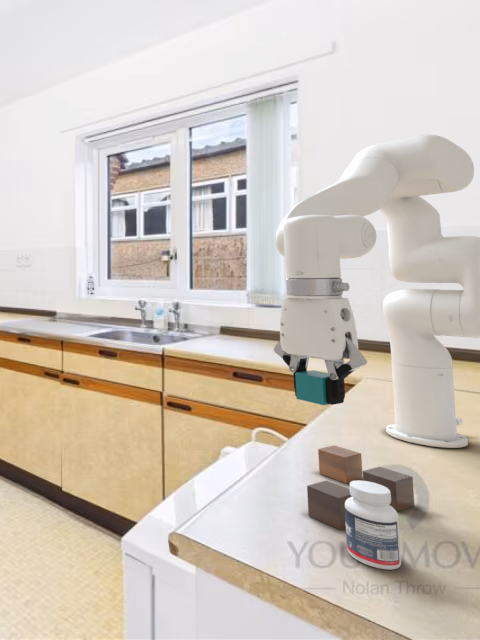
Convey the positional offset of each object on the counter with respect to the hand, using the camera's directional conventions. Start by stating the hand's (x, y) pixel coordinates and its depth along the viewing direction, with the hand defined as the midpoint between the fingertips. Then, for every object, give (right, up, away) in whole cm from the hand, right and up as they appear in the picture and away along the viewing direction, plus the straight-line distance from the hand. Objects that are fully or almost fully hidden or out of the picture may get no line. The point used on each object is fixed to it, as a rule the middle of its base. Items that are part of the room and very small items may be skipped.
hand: (318, 398), depth 79 cm
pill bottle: (-7, -15, -19) cm, 25 cm away
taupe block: (+7, -15, -5) cm, 17 cm away
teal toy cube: (0, 0, 0) cm, 0 cm away
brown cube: (-5, -15, -10) cm, 18 cm away
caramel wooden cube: (+7, -15, +5) cm, 18 cm away
